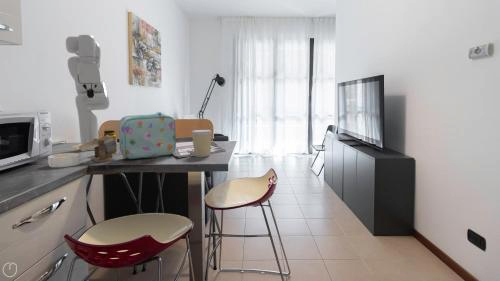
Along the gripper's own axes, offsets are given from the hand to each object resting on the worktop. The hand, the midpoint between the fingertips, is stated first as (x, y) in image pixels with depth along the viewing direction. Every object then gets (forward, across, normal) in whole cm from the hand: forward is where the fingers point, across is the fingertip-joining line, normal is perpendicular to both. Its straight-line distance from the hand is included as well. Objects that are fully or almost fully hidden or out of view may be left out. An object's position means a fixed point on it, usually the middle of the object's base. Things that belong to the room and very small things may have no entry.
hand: (90, 97), depth 181 cm
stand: (+29, +2, +19) cm, 35 cm away
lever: (+26, +3, +13) cm, 30 cm away
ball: (+28, +21, +19) cm, 39 cm away
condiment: (+29, -7, 0) cm, 30 cm away
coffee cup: (+29, -38, +43) cm, 64 cm away
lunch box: (+29, -18, +27) cm, 44 cm away
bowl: (+29, +18, +19) cm, 39 cm away
